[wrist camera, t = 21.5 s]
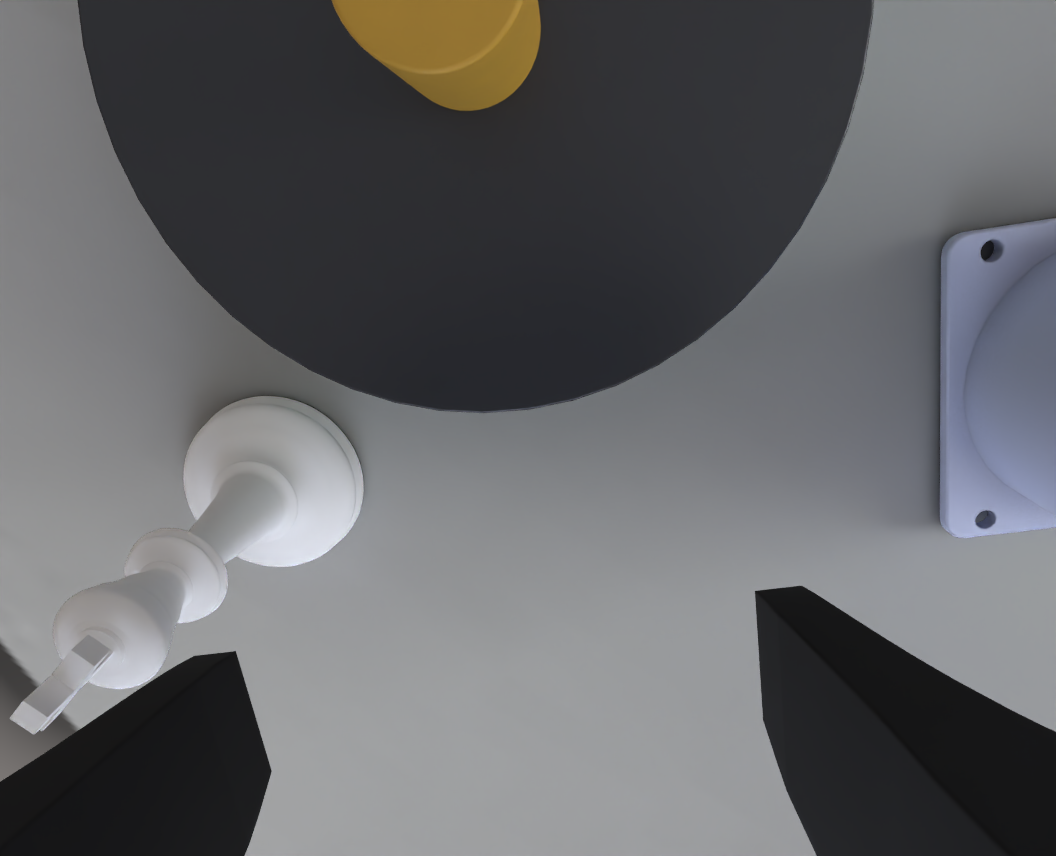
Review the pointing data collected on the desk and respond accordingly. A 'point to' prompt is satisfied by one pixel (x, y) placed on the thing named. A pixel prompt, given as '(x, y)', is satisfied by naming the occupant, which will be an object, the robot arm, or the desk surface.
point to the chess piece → (208, 543)
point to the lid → (477, 173)
